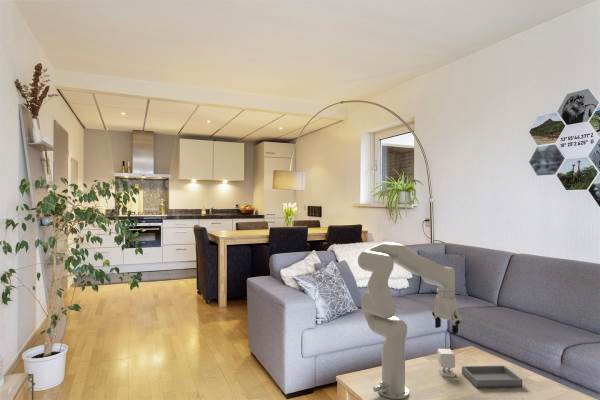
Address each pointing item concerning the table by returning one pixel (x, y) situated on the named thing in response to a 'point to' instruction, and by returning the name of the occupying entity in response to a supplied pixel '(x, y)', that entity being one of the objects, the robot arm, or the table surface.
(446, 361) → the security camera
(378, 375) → the table surface
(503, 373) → the parts tray
